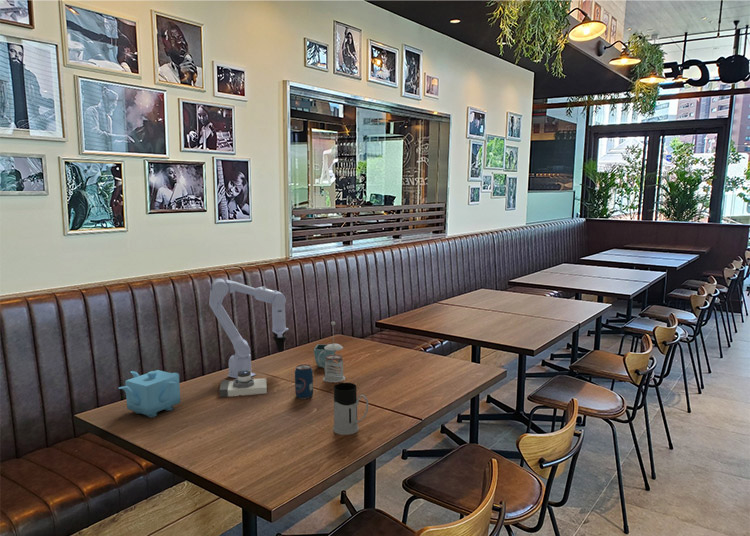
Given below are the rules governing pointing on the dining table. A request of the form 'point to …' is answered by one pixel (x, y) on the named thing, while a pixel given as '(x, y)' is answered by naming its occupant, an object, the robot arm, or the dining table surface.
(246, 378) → the lens
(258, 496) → the dining table surface
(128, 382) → the teakettle
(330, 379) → the french press
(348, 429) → the grey and black mug
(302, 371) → the soda can
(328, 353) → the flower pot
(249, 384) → the camera body
